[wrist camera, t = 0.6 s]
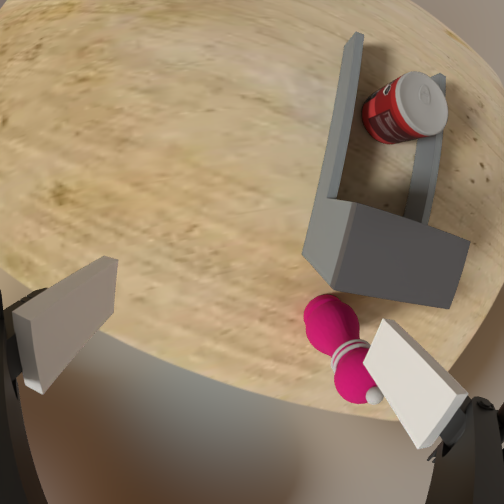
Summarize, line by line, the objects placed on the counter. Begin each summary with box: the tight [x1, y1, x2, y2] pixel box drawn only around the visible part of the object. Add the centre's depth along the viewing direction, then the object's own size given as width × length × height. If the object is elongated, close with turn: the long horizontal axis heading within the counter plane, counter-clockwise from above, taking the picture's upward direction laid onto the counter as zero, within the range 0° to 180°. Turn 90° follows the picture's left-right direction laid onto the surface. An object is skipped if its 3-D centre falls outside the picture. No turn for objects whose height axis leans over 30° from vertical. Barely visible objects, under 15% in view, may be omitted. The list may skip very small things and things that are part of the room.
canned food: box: [362, 71, 448, 144], centre depth 30 cm, size 8×8×11 cm
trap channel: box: [302, 32, 470, 309], centre depth 29 cm, size 32×15×14 cm, turn 168°
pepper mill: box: [304, 295, 384, 405], centre depth 31 cm, size 7×7×20 cm
